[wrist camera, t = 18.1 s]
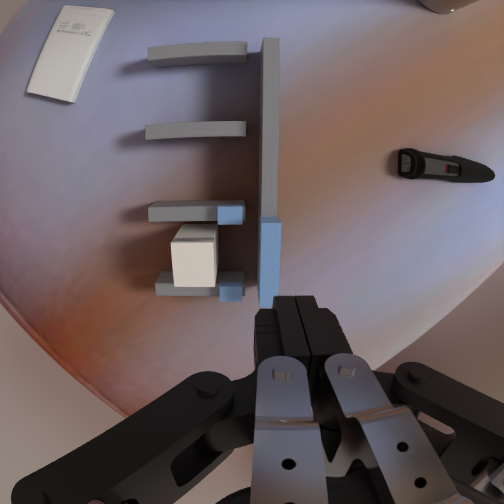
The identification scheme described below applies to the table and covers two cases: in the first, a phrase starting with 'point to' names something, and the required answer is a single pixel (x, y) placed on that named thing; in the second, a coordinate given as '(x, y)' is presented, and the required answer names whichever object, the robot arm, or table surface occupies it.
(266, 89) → the rack
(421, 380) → the robot arm
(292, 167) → the table surface
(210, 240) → the cream white box
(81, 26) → the external hard drive
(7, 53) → the table surface
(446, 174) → the electric trimmer
